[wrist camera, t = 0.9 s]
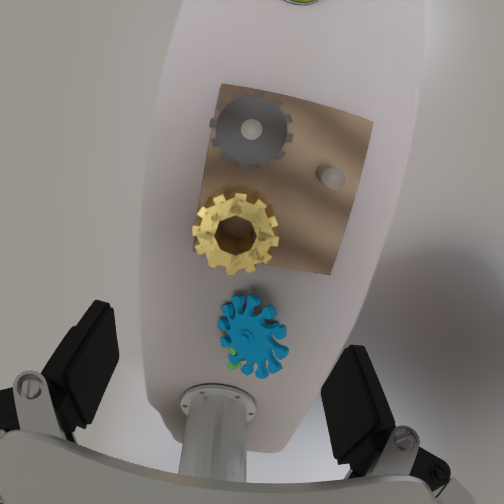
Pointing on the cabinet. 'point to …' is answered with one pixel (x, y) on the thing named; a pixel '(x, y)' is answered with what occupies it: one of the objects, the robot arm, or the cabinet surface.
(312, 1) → the supplement bottle
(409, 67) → the cabinet surface
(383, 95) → the cabinet surface
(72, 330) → the robot arm
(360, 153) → the gear board
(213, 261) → the brass gear
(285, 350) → the gear
